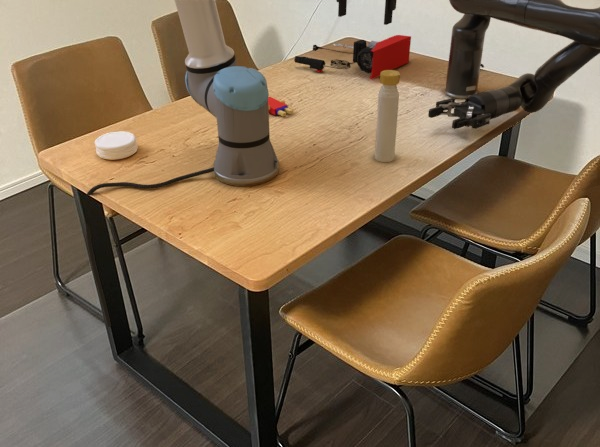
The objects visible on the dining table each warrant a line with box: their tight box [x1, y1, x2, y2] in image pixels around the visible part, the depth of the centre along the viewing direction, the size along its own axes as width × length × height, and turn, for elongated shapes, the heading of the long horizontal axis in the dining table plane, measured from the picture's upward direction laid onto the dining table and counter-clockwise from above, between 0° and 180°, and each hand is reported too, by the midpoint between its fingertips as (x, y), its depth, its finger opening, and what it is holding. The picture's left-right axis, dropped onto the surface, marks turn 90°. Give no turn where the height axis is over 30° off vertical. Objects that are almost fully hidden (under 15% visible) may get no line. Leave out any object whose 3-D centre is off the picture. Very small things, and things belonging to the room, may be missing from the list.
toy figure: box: [268, 96, 294, 117], centre depth 177 cm, size 2×7×12 cm
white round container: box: [94, 130, 139, 161], centre depth 154 cm, size 10×10×4 cm
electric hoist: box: [293, 34, 412, 80], centre depth 208 cm, size 10×27×30 cm
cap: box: [379, 69, 401, 86], centre depth 140 cm, size 4×4×2 cm
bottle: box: [374, 84, 400, 163], centre depth 145 cm, size 5×5×21 cm
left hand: (364, 19), depth 159 cm, fingers open, 13 cm apart
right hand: (441, 119), depth 155 cm, fingers open, 8 cm apart
